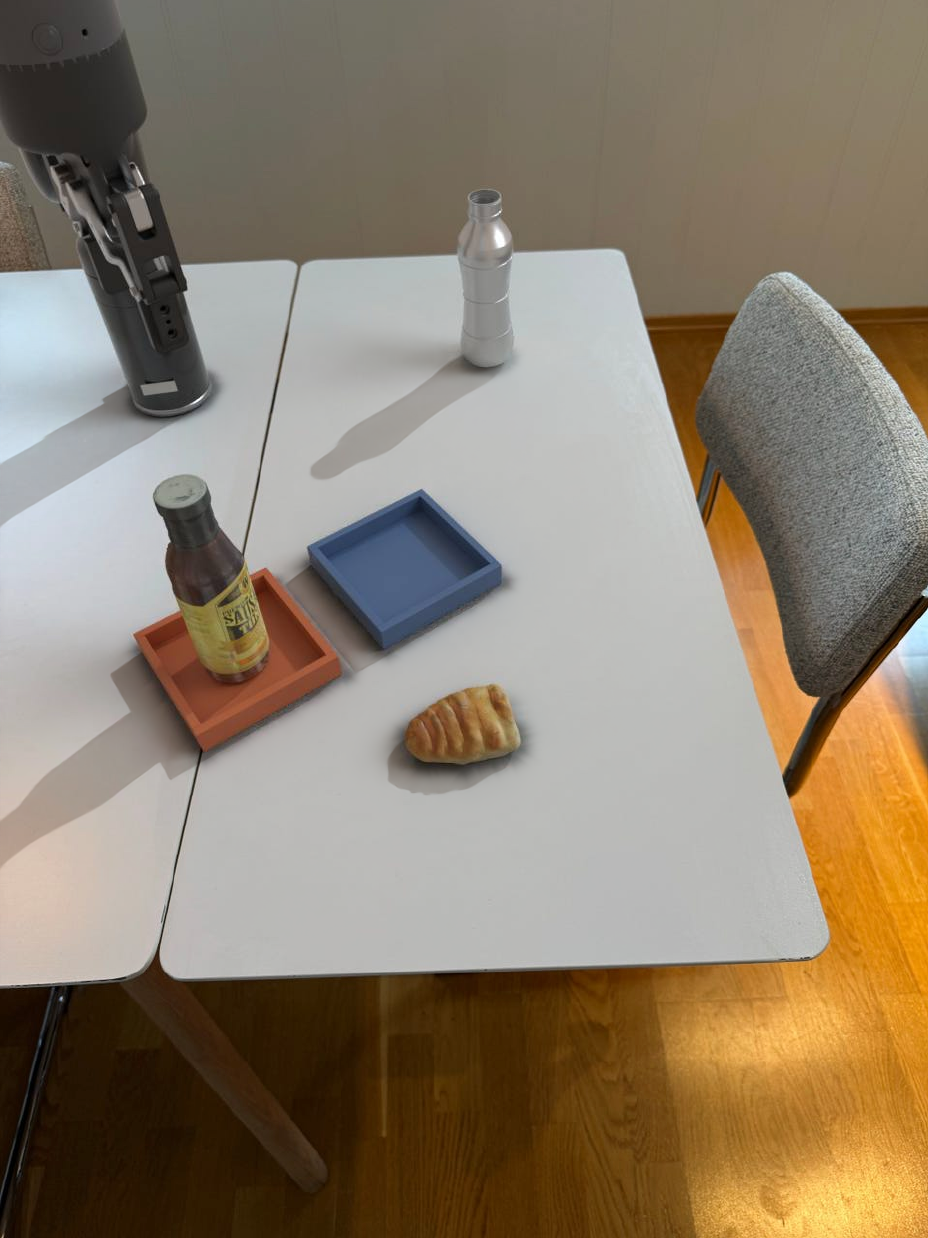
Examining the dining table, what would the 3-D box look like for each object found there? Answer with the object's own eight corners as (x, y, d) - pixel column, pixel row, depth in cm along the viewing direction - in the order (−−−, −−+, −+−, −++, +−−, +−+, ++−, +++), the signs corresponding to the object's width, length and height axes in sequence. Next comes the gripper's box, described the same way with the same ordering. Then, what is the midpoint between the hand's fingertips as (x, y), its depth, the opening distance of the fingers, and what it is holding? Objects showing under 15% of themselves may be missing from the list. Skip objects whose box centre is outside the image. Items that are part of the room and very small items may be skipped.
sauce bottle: (259, 692, 79) (200, 530, 64) (193, 682, 80) (119, 520, 65) (283, 635, 83) (233, 469, 68) (220, 626, 84) (156, 461, 69)
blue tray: (310, 564, 89) (306, 546, 87) (423, 506, 94) (421, 488, 92) (383, 650, 82) (380, 632, 80) (502, 582, 87) (502, 564, 85)
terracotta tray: (141, 651, 83) (132, 633, 81) (271, 584, 88) (266, 566, 86) (204, 752, 76) (196, 735, 74) (342, 673, 81) (338, 656, 79)
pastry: (418, 786, 73) (414, 761, 70) (396, 721, 77) (391, 695, 74) (526, 753, 75) (527, 727, 72) (499, 690, 79) (498, 664, 76)
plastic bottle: (523, 352, 111) (526, 189, 96) (495, 380, 108) (494, 216, 93) (479, 337, 114) (475, 177, 99) (450, 365, 110) (441, 202, 95)
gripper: (172, 51, 43) (247, 346, 55) (69, -21, 50) (156, 253, 63) (17, 92, 40) (132, 392, 53) (-67, 10, 48) (51, 289, 60)
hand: (145, 316), depth 58 cm, fingers open, 8 cm apart
